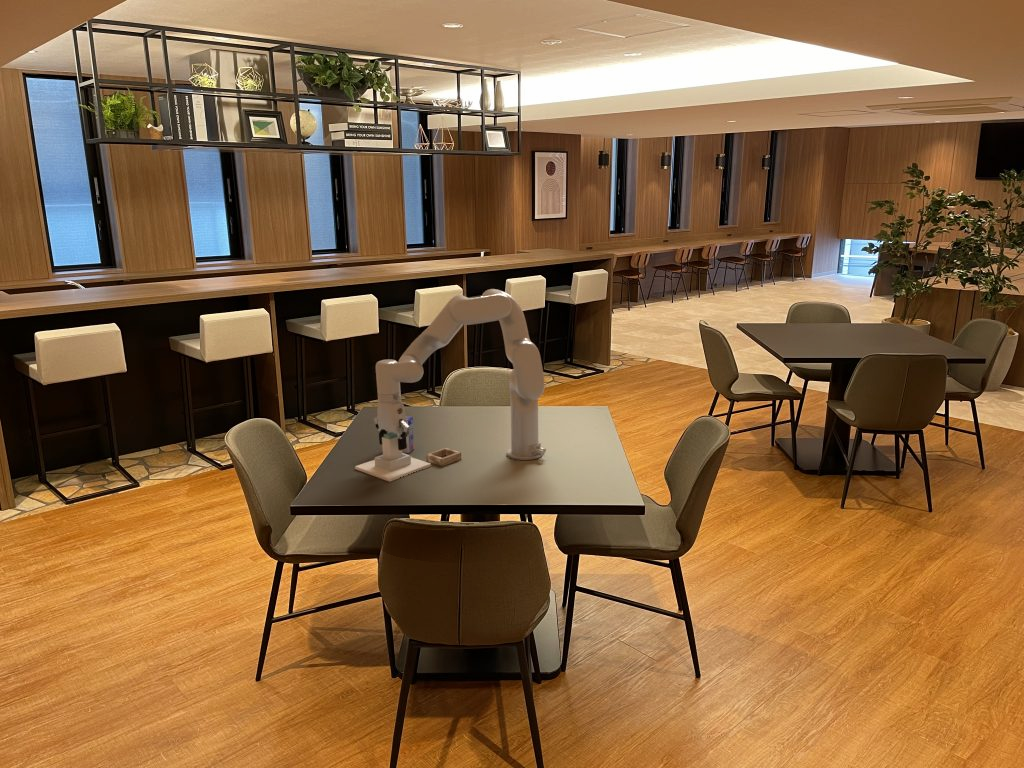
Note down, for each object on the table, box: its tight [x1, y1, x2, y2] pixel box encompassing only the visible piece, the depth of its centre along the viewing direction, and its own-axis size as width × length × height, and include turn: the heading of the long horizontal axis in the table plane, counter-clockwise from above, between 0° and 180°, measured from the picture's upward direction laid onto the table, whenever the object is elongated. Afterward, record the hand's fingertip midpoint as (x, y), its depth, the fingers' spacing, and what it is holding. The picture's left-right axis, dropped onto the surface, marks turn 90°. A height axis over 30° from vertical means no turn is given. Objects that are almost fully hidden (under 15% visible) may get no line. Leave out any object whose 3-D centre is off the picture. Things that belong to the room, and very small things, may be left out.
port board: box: [354, 453, 432, 482], centre depth 261 cm, size 18×18×4 cm
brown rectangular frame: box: [425, 447, 462, 467], centre depth 267 cm, size 8×9×2 cm
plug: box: [381, 432, 402, 461], centre depth 260 cm, size 4×5×11 cm
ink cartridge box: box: [386, 416, 415, 454], centre depth 277 cm, size 10×6×14 cm, turn 78°
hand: (393, 446), depth 260 cm, fingers open, 9 cm apart
